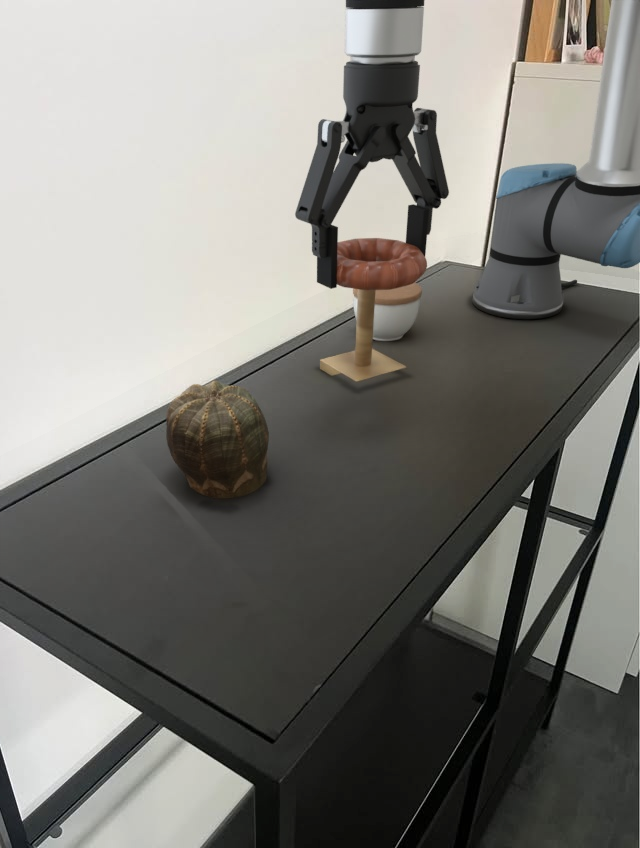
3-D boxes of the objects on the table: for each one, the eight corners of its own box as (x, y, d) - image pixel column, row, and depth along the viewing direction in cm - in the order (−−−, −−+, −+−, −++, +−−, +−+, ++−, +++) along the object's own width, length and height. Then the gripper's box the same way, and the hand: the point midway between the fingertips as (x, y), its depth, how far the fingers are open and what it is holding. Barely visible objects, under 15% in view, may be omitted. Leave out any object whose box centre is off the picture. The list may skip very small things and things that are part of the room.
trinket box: (415, 349, 119) (421, 290, 114) (347, 344, 121) (349, 286, 116) (419, 324, 128) (424, 268, 123) (355, 320, 130) (357, 265, 125)
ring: (379, 254, 95) (380, 229, 93) (446, 280, 86) (449, 253, 84) (298, 272, 89) (298, 246, 88) (361, 301, 81) (363, 273, 79)
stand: (368, 355, 117) (373, 267, 110) (406, 376, 111) (414, 284, 103) (319, 368, 113) (321, 278, 106) (356, 391, 107) (360, 297, 100)
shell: (179, 461, 91) (170, 368, 85) (271, 462, 91) (269, 369, 84) (164, 514, 82) (153, 414, 75) (267, 515, 82) (265, 415, 75)
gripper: (446, 50, 84) (429, 248, 96) (257, 64, 73) (264, 285, 85) (497, 53, 78) (472, 263, 90) (301, 69, 68) (302, 305, 79)
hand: (371, 274), depth 88 cm, fingers closed on ring, 12 cm apart
